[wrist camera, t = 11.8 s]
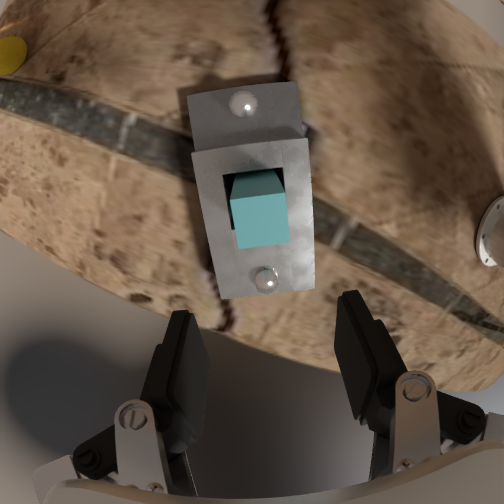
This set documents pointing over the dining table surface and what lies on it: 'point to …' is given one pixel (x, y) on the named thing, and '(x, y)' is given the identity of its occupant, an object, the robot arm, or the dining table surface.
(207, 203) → the grey slotted base
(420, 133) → the dining table surface
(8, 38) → the lemon
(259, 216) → the pin
